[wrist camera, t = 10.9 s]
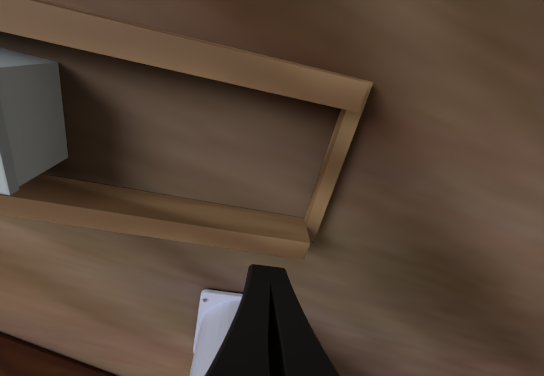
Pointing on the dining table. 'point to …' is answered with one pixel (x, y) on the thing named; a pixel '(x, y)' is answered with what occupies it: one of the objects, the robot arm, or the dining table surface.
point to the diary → (38, 361)
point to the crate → (29, 118)
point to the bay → (170, 209)
